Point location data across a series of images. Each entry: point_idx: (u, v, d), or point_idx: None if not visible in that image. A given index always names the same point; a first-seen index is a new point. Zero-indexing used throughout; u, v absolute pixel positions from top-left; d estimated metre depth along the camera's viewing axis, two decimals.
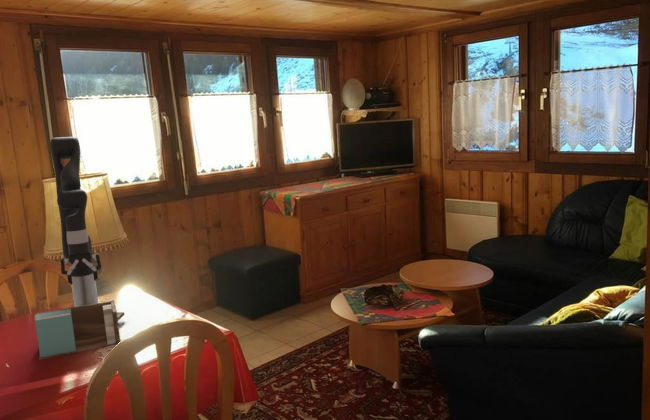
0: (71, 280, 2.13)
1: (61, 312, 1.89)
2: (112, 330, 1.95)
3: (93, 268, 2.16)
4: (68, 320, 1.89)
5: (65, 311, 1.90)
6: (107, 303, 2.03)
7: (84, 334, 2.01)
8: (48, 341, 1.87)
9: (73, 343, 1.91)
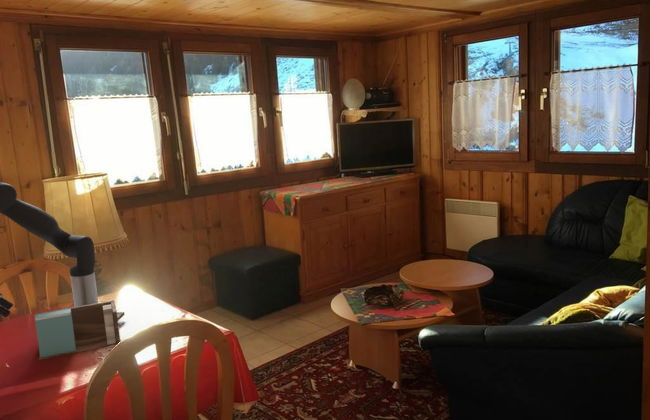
0: None
1: (61, 312, 1.89)
2: (112, 330, 1.95)
3: None
4: (68, 320, 1.89)
5: (65, 311, 1.90)
6: (107, 303, 2.03)
7: (84, 334, 2.01)
8: (48, 341, 1.87)
9: (73, 343, 1.91)
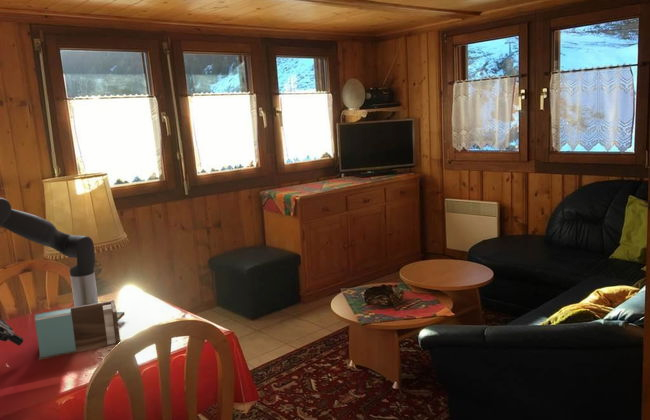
0: None
1: (61, 312, 1.89)
2: (112, 330, 1.95)
3: None
4: (68, 320, 1.89)
5: (65, 311, 1.90)
6: (107, 303, 2.03)
7: (84, 334, 2.01)
8: (48, 341, 1.87)
9: (73, 343, 1.91)
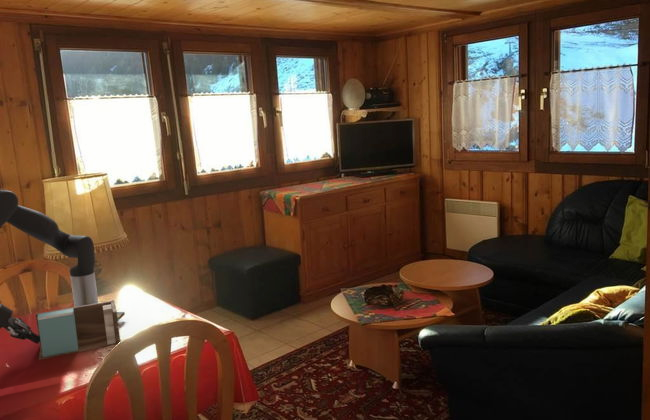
0: None
1: (64, 312, 1.89)
2: (112, 330, 1.95)
3: None
4: (70, 319, 1.89)
5: (68, 311, 1.90)
6: (107, 303, 2.03)
7: (84, 334, 2.01)
8: (50, 341, 1.87)
9: (76, 343, 1.91)
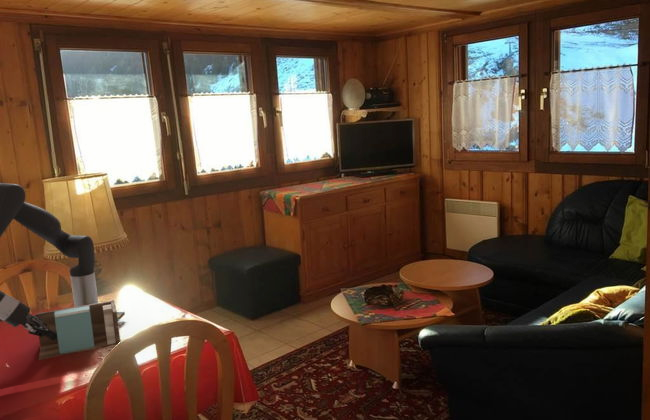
0: (50, 337, 1.89)
1: (80, 309, 1.91)
2: (112, 330, 1.95)
3: None
4: (87, 316, 1.91)
5: (84, 308, 1.92)
6: (107, 303, 2.03)
7: None
8: (67, 338, 1.89)
9: (92, 340, 1.93)
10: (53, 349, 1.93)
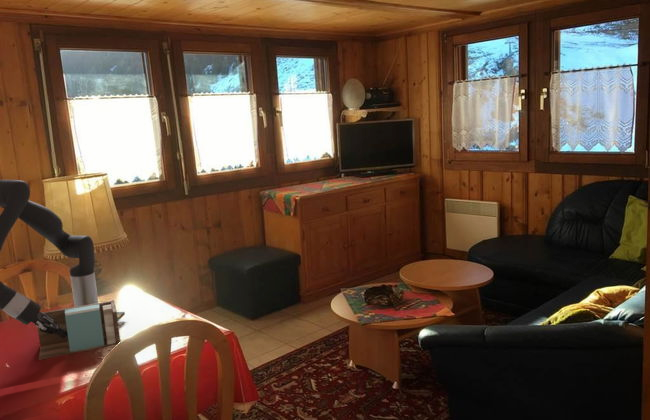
0: None
1: (90, 307, 1.92)
2: (112, 330, 1.95)
3: None
4: (97, 315, 1.92)
5: (94, 306, 1.93)
6: (107, 303, 2.03)
7: None
8: (77, 336, 1.91)
9: (102, 338, 1.94)
10: (53, 349, 1.93)
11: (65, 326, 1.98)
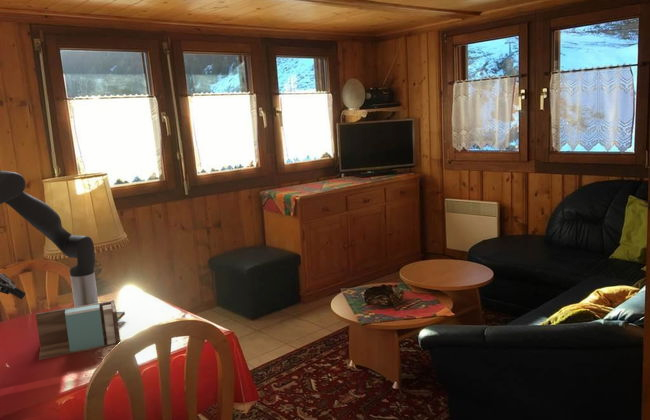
0: None
1: (90, 307, 1.92)
2: (112, 330, 1.95)
3: None
4: (97, 315, 1.92)
5: (94, 306, 1.93)
6: (107, 303, 2.03)
7: None
8: (77, 336, 1.91)
9: (102, 338, 1.94)
10: (53, 349, 1.93)
11: (65, 326, 1.98)
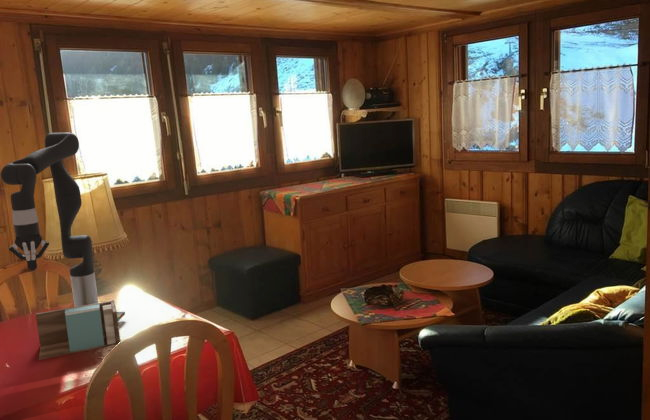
0: (31, 266, 1.92)
1: (90, 307, 1.92)
2: (112, 330, 1.95)
3: (33, 256, 1.91)
4: (97, 315, 1.92)
5: (94, 306, 1.93)
6: (107, 303, 2.03)
7: None
8: (77, 336, 1.91)
9: (102, 338, 1.94)
10: (53, 349, 1.93)
11: (65, 326, 1.98)
